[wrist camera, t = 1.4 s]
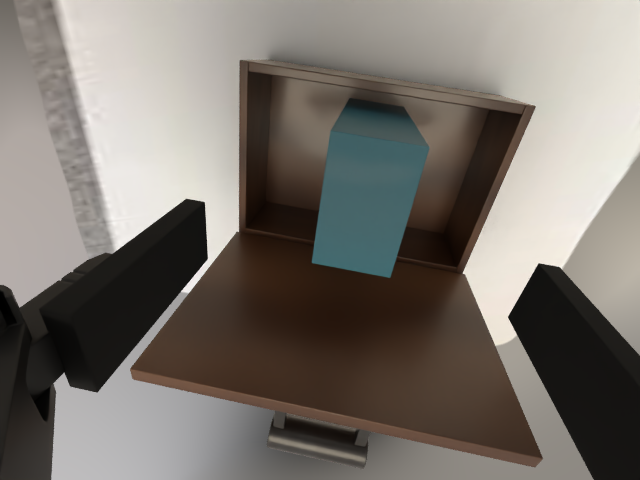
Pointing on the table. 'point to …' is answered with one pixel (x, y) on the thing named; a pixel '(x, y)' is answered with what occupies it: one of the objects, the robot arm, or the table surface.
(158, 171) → the table surface
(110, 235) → the table surface
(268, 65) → the chest
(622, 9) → the table surface
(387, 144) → the block
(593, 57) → the table surface
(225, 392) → the lid
